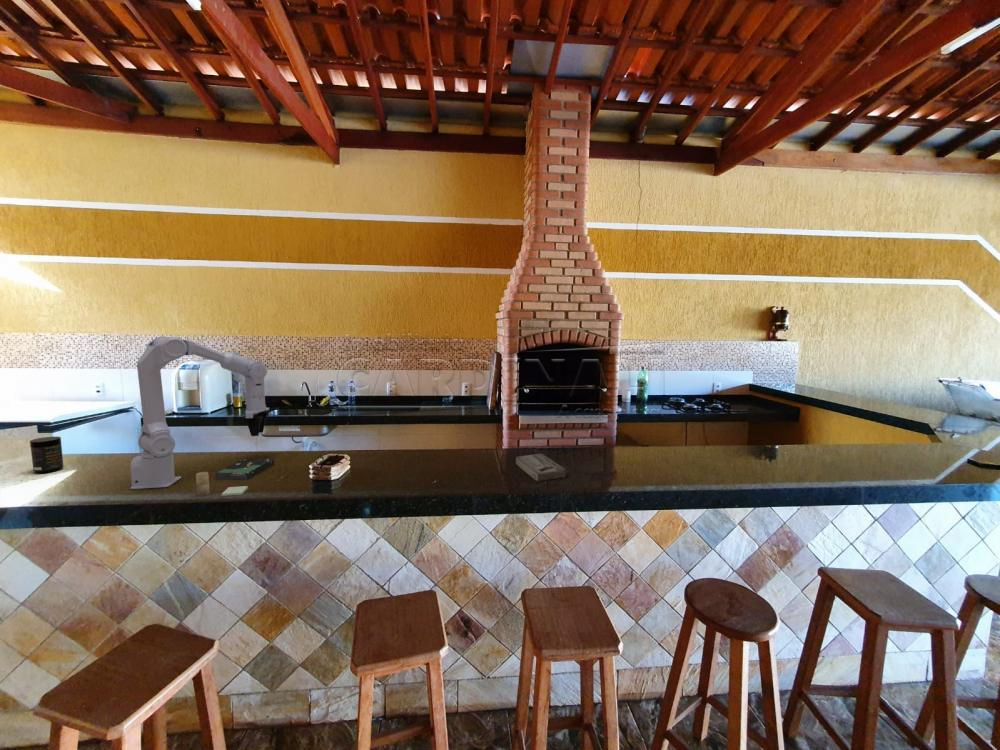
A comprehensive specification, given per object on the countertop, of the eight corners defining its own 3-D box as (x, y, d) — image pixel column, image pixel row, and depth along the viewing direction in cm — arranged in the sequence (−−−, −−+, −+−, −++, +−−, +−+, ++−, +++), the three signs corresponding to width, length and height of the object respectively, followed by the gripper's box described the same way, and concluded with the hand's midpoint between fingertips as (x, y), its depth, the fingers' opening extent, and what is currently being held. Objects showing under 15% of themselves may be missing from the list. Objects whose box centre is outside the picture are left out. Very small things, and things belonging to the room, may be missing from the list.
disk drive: (245, 465, 144) (214, 480, 129) (244, 457, 143) (214, 471, 129) (274, 466, 143) (247, 481, 129) (274, 458, 143) (247, 472, 128)
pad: (221, 495, 116) (221, 493, 116) (228, 489, 121) (228, 487, 121) (241, 494, 117) (241, 492, 117) (248, 487, 122) (247, 485, 122)
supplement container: (70, 467, 137) (67, 436, 136) (50, 474, 131) (46, 441, 130) (47, 467, 137) (44, 436, 136) (26, 474, 130) (22, 442, 129)
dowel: (195, 496, 116) (194, 475, 115) (200, 492, 118) (198, 472, 118) (206, 495, 116) (205, 474, 116) (211, 491, 119) (210, 471, 118)
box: (541, 460, 151) (541, 452, 151) (566, 477, 135) (566, 468, 135) (514, 464, 147) (514, 456, 147) (537, 483, 131) (537, 473, 131)
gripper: (261, 399, 139) (263, 438, 140) (274, 392, 153) (275, 428, 154) (237, 399, 137) (239, 439, 139) (252, 392, 151) (254, 429, 153)
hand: (257, 434), depth 147 cm, fingers open, 4 cm apart
